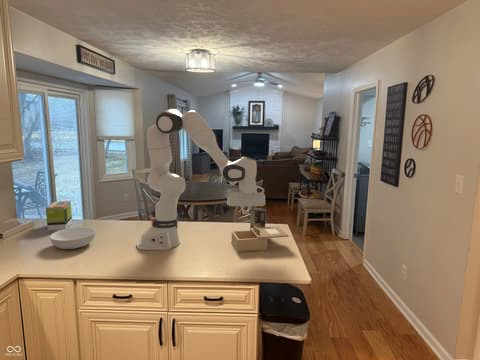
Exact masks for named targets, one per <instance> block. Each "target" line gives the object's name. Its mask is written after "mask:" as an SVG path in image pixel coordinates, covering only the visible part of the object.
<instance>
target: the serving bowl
mask: <svg viewBox="0 0 480 360" xmlns="http://www.w3.org/2000/svg"><path fill="white" fill-rule="evenodd" d="M95 237H96V230H95V228H93V227H88V226H87V227H85V226H84V227H83V226H80V227H79V226H77V227H68V228H67V229H64V230H59V231H54V232H53V233H52V234H50V236H49V239H50V242H51V244H52V245H53V246H54V247H56V248H58V249H61V250H62V249H63V250H75V249H79V248H82V247H85V246H87V245H90V243H91V242H93V240H94V239H95Z"/></svg>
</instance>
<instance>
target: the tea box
mask: <svg viewBox="0 0 480 360" xmlns="http://www.w3.org/2000/svg"><path fill="white" fill-rule="evenodd" d="M72 211H73V210H72V201H71V200H64V201H63V200H60V201H53V202H52V203H49V204H48V205H47V206H46V207H45V215H46V227H47V231H48V232H57V231H60V230H64V229H68V228H70V226H71V224H73V214H72V213H73V212H72Z"/></svg>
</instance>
